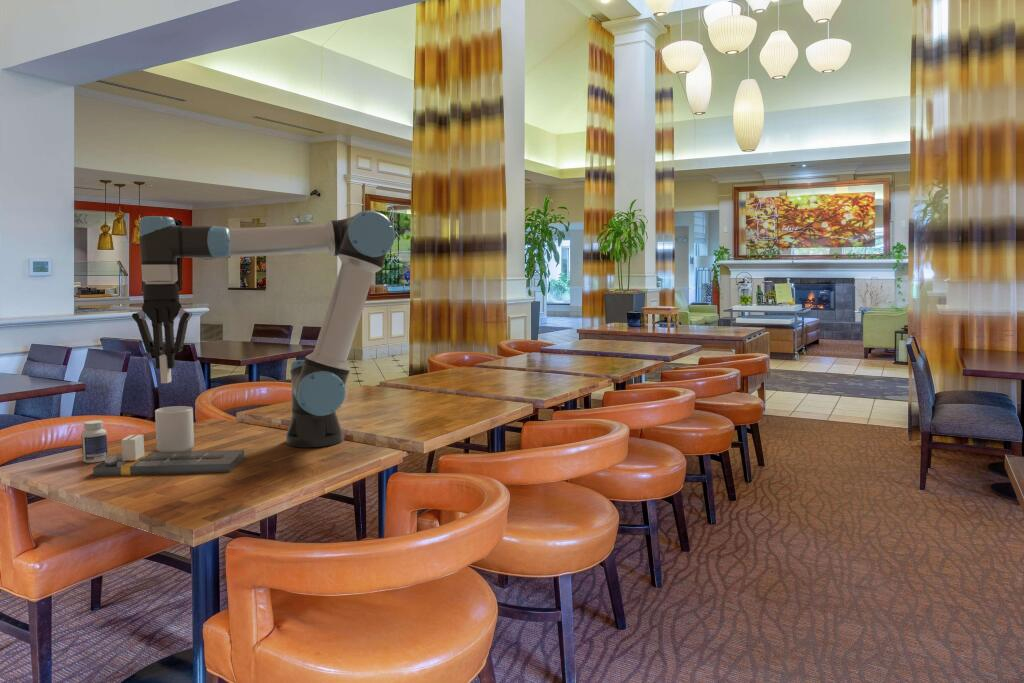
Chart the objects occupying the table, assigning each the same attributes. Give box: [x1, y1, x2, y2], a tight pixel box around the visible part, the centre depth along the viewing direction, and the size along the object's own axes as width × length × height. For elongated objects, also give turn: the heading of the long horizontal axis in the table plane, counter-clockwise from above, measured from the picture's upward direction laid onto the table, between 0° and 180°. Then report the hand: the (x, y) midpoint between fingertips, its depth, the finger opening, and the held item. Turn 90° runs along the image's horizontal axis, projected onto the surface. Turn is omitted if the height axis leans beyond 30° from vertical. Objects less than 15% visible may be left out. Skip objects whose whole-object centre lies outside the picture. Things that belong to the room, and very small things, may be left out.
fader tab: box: [120, 434, 145, 461], centre depth 164 cm, size 3×5×5 cm, turn 7°
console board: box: [92, 449, 245, 477], centre depth 165 cm, size 30×13×4 cm, turn 97°
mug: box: [154, 405, 195, 452], centre depth 181 cm, size 12×9×11 cm
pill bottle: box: [80, 420, 109, 464], centre depth 170 cm, size 5×5×10 cm
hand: (166, 382), depth 163 cm, fingers closed
